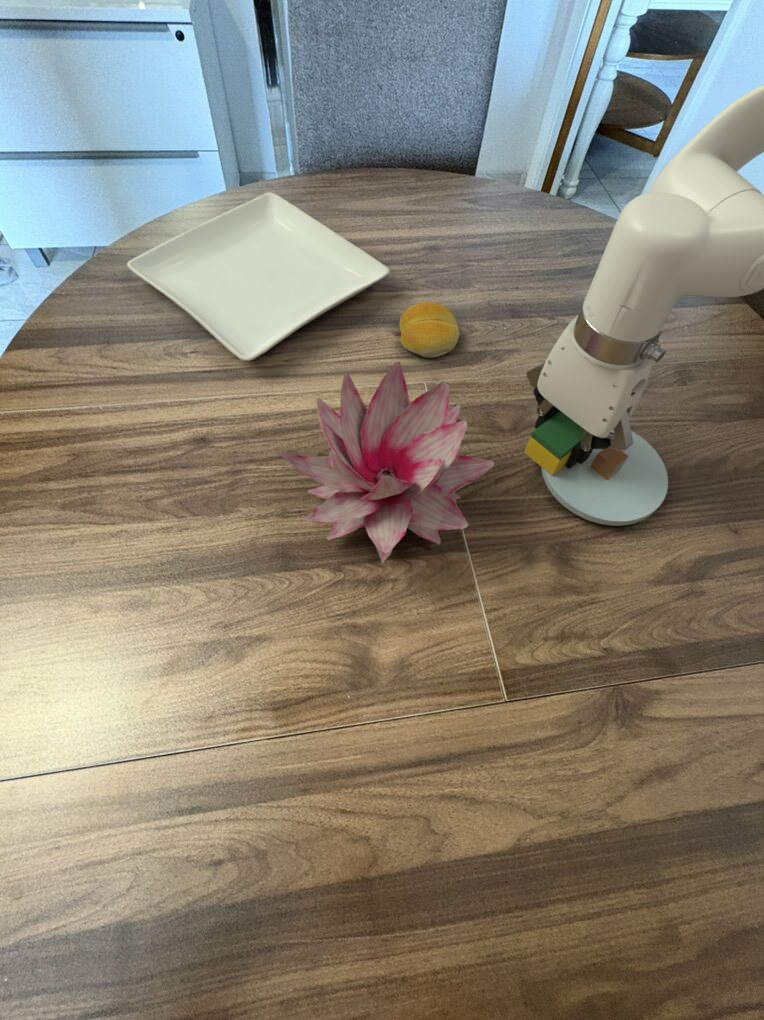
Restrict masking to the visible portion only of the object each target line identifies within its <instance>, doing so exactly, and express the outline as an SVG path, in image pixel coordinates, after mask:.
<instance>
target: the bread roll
mask: <svg viewBox="0 0 764 1020" xmlns="http://www.w3.org/2000/svg"><path fill="white" fill-rule="evenodd" d="M398 325H399V330H400V333H401V335H400V343H401V346H403V348H404V349H405V350H406V351H409V352H411V353H413V354H416V355H418V356H420V357H422V358H428V359H429V358H430V359H432V358H433V359H434V358H438V357H442V356H444V355H446V354H448V353H450V352H451V351H452V350H453V349H454V348H455V347H456V345H457V344H458V341H459V338H460V329H459V326H458V323H457V319H456V317H455V316H454V314H453V313H452V312H451V310H450V309H449V308H448V307H446V306H445V305H442V304H441V303H437V302H432V301H426V302H420V303H419V302H418V303H416V304H413V305H411V306H409V307H407V308H406V309H405V310H404V312H403V313H402V314H401V316H400V319H399V323H398Z"/></svg>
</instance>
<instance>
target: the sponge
mask: <svg viewBox="0 0 764 1020" xmlns="http://www.w3.org/2000/svg"><path fill="white" fill-rule="evenodd" d="M583 429H584V428H582V427H581V426H580V425H578V424H577V423H576V422H574V421H573V420H572V419H570V418H569V417H568V416H566V415H565V414H564V413H563V412H561V411H560V412H558V413H557V414H556V415H554V416H553V417H552V418H550V419H549V420H548V421H546V422H545V423H543V424H542V425H541V426H539V427H538V428H537V429H536V428H534V430H532V432H531V435H530V437H529V439H528V441H527V444H526V447H525V449H524V452H523V453H524V454H525V455H526V456H528V458H529V459H531V460H533V461H534V462H535V463H536V464H537V465H538V466H539V467H540V468H541V467H542V468H543V469H545V470H546V471H547V472H548V473H549V474H551V475H552V476H553V475H554V474H555V473H556V472H558V471H559V470H560V469H561V468H563V467H564V466H565V465H566V462H567V460H568V458H569V456H570V454H571V452H572V450H573V449H574V447H575V445H576V444H577V443H579V442H580V441H581V440H582V434H583Z"/></svg>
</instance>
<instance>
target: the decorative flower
mask: <svg viewBox="0 0 764 1020" xmlns="http://www.w3.org/2000/svg"><path fill="white" fill-rule="evenodd" d="M405 378H406V377H405V375H404V372H403V368H402V364H401V362H400V361H399V362H398V361H397V362H394V363H393V364H392V366H391V367H390V369H389V370H388V371H387V372H386V374H385V375H384V377H383V378H381V381H380V382H379V384H378V387H377V389H376V390H375V391H374V394H373V396H372V397H371V400H370V401H369V404H368V407H367V406H366V404H365V402H364V399H362V397H361V395H360V393H359V391H358V389H357V387H356V385H355V383H354V381H353V379H352V378H351V375H350V374H349V372H348V371H344V373H343V379H342V383H341V390H340V414H339V413H338V412H337V411H335V410H334V409H333V408H332V407H331V406H330V405H328V404H327V403H326V402H325V401H324V400H323V399H321V398H320V397H319V398H318V397H317V398H316V409H317V417H318V423H319V426H320V429H321V431H322V433H323V436H324V438H325V440H326V441H327V444H328V446H329V447H330V449H331V450H330V451H329V454H328V456H327V458H326V457H325V458H324V457H314V456H306V455H300V454H299V455H298V454H293V453H287V452H280V454H279V455H280V456H281V457H282V458H283V459H284V460H286V461H287V462H288V464H290V465H291V466H292V467H294V468H295V469H296V470H297V471H298V472H300V473H301V474H303V475H305V476H306V477H308V478H310V479H312V480H314V481H315V482H317V483H318V484H320V485H321V486H317V487H315V488H311V489H308V490H307V494H311V495H313V496H316V497H318V498H321V499H323V500H325V501H324V502H322V503H321V504H320V505H318V507H316V508H314V510H312V511H311V512H310V513H309V514H307V516H305V517H304V518H303V519H304V520H305V521H307V522H313V523H320V524H325V523H327V524H330V523H334V524H333V525H332V527H331V529H330V531H329V532H328V534H327V536H326V538H325V540H328V541H330V540H333V539H336V538H340V537H343V536H347V535H348V534H350V533H352V532H354V531H356V530H358V529H360V528H361V527H365V530H366V532H367V535H368V537H369V538H370V540H371V541H372V543H373V544H374V547H375V549H376V551H377V554H378V556H379V558H380V561H381V564H384V562H385V561H386V560H387V559H388V558H389V557H390V555H391V554H392V551H393V549H394V548H395V546H397V544H398V543H399V542H400V541H401V540H402V538H403V537H405V535H406V533H407V529H408V530H410V531H411V532H413V533H414V534H416V535H417V536H418V537H421V538H423V539H425V540H428V541H430V542H432V543H434V544H437V545H440V544H441V543H442V539H441V537H440V533H439V531H447V530H448V531H451V530H463V529H466V528H467V527H469V523H468V521H467V519H466V518H465V517H466V516H465V515H464V514H463V513H464V512H462V511H461V509H460V508H459V506H458V505H457V504H456V502H455V501H457V500H460V499H461V496H460V495H458V494H457V493H456V491H458V490H460V489H462V488H464V487H466V486H467V485H469V484H471V483H472V482H475V481H477V480H478V479H480V478H481V477H482V476H483V475H485V474H486V473H487V472H489V471H490V470H491V469H492V468H493V467H494V466H495V462H494V461H493V460H490V459H484V458H479V457H473V456H469V455H462V454H461V455H460V454H458V453H459V450H460V447H461V444H462V441H463V439H464V436H465V433H466V431H467V428H468V423H467V420H461V421H458V419H459V415H460V410H461V405H460V404H458V403H457V404H455V405H452V406H450V387H449V385H450V384H449V382H446V381H444V380H442V382H440V383H438V384H436V385H435V386H433V387H432V388H430V389H429V390H427V391H425V392H424V393H422V394H421V395H419V396H418V397H416V398H415V399H414V400H413V401H412V402H411V401H410V397H409V391H408V386H407V381H406V379H405Z"/></svg>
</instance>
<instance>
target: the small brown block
mask: <svg viewBox="0 0 764 1020" xmlns="http://www.w3.org/2000/svg"><path fill="white" fill-rule="evenodd" d="M628 457H629V456H628V455H626V454H625V453H624V452H623V451H621V450H616V449H611V448H607V449H603V450H601V451H600V452H599V453H598V454H597V456H596V457H595V459H594V461H593V463H592V464H591V466H590V467H591V468H593V469H594V470H595V471H596V472H598V473H599V474H600V475H601V476H603V477H604V478H605V479H606V480H608V479H609V478H611V477H612V476H613V475H614V474H615V473H617V472H618V471H619V470H620V469H621V468H622V466H623V464H624V463H625V461H626V460H627V458H628Z"/></svg>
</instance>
